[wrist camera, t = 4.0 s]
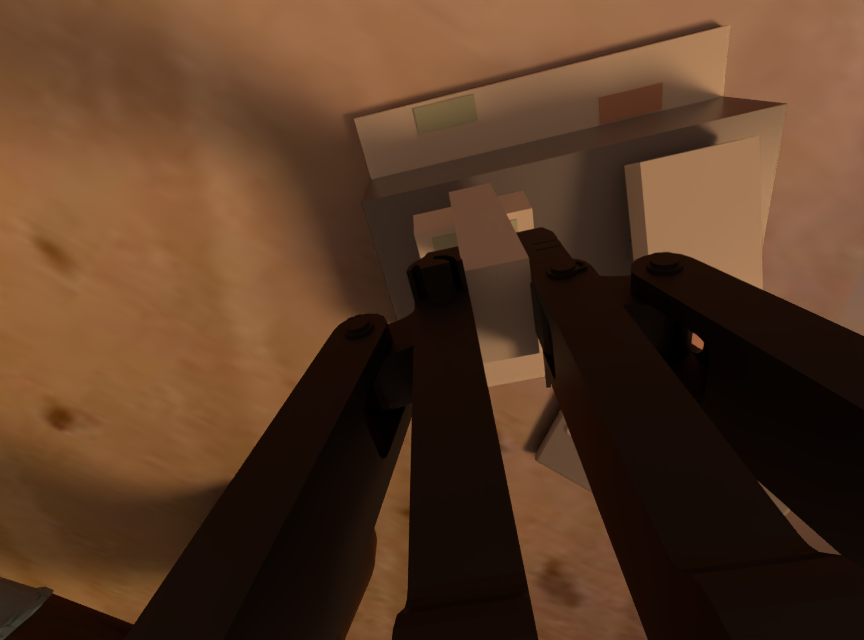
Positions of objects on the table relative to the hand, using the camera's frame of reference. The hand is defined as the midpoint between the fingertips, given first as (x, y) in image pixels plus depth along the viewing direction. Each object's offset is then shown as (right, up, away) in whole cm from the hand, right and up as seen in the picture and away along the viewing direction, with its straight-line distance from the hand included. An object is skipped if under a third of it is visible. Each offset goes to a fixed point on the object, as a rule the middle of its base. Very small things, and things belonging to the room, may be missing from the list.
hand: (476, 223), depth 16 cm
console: (+5, +3, +9) cm, 10 cm away
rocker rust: (+10, -1, +3) cm, 10 cm away
